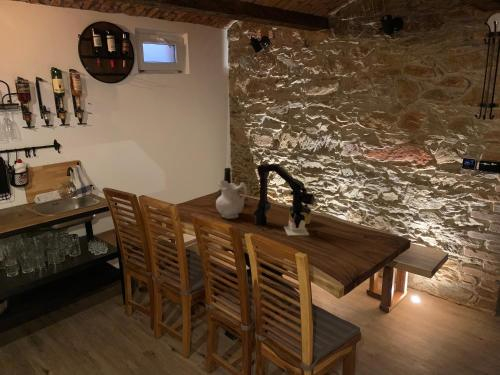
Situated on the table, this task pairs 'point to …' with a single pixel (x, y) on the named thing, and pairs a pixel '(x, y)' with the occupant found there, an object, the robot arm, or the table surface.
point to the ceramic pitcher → (230, 199)
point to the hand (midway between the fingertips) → (296, 226)
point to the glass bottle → (226, 178)
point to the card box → (293, 226)
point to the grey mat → (295, 231)
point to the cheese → (307, 217)
